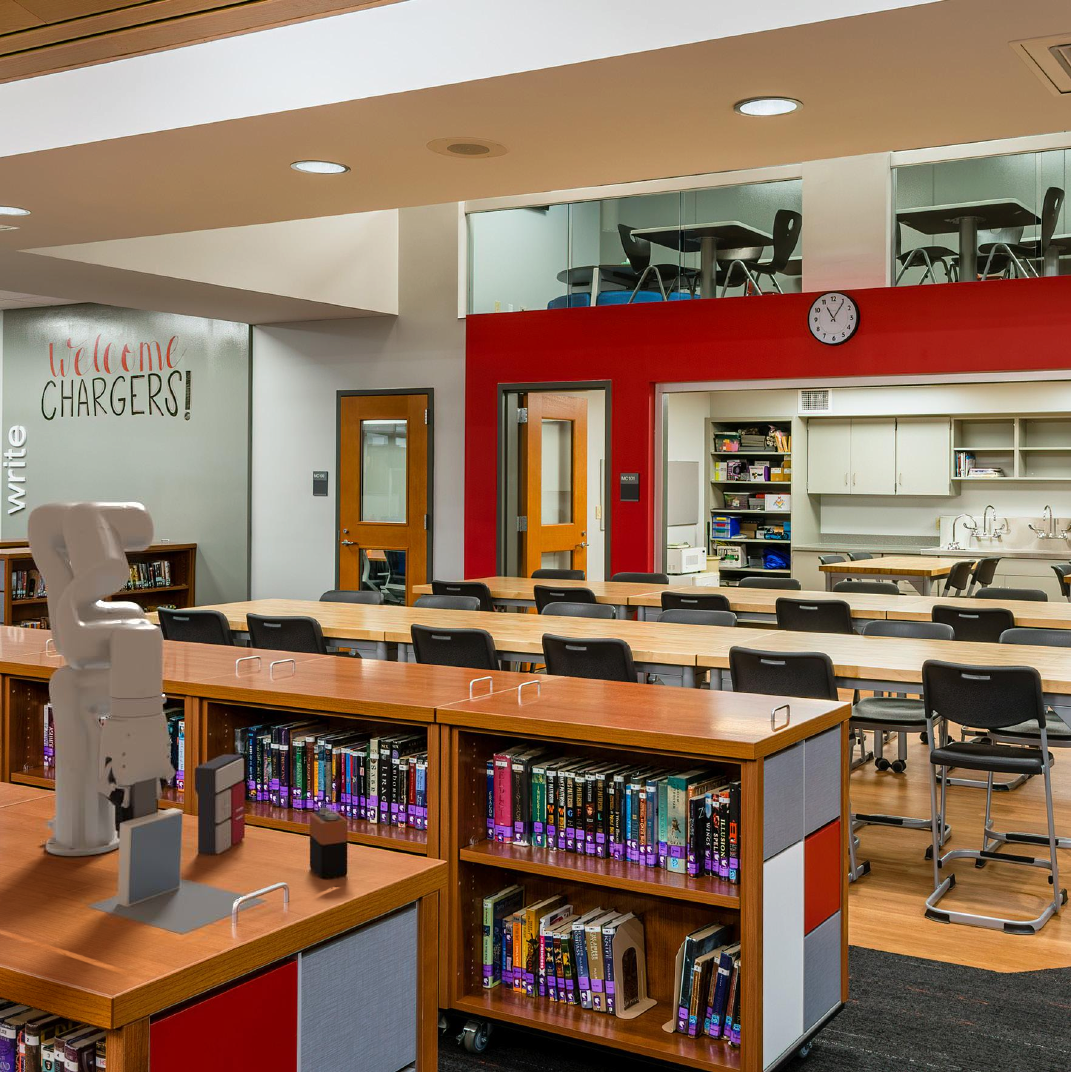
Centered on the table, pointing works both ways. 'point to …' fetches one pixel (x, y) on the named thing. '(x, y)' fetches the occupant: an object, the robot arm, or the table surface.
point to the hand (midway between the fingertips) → (136, 827)
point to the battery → (328, 844)
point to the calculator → (220, 803)
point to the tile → (149, 856)
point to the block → (143, 798)
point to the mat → (180, 907)
